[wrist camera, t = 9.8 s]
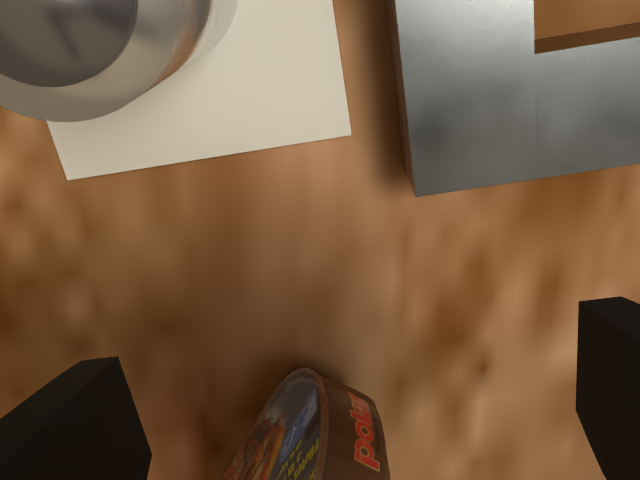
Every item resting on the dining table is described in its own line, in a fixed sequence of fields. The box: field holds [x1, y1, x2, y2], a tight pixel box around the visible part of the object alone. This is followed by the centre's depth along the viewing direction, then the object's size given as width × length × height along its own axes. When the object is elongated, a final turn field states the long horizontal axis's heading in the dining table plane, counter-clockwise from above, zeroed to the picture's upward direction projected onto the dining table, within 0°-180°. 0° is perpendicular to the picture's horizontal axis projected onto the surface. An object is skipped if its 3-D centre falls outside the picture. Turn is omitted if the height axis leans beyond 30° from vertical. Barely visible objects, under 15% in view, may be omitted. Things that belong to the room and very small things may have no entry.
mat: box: [47, 0, 351, 180], centre depth 16 cm, size 9×9×1 cm
